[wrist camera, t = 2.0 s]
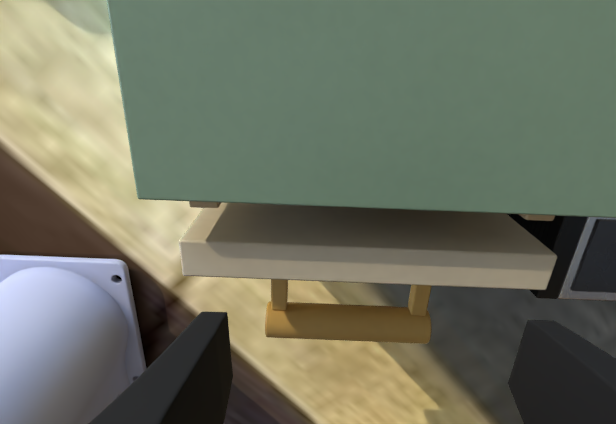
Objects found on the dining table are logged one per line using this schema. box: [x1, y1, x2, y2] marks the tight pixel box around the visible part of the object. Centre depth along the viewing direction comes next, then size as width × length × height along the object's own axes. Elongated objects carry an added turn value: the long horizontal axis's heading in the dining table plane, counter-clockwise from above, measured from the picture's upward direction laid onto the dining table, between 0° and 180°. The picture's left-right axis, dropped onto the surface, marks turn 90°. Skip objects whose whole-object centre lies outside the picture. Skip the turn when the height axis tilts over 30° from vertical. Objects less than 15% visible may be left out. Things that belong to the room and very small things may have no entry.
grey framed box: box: [510, 214, 616, 301], centre depth 16 cm, size 4×7×4 cm, turn 88°
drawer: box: [179, 201, 557, 344], centre depth 12 cm, size 17×11×6 cm, turn 178°
